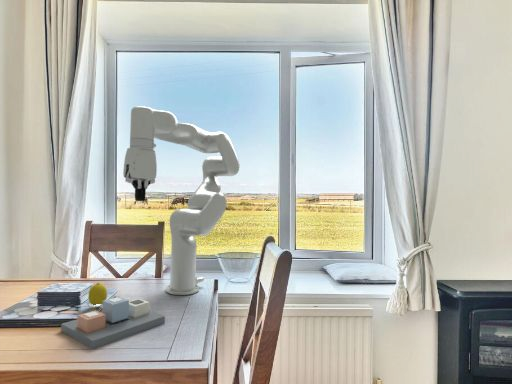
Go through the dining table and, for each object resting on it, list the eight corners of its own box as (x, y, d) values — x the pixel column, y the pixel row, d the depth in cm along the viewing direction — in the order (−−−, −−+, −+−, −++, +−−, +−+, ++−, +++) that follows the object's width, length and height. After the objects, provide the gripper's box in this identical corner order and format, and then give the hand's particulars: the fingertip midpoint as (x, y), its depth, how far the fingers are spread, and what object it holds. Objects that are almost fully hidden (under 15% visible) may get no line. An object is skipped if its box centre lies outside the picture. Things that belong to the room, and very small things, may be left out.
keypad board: (132, 309, 113) (132, 303, 113) (164, 322, 103) (164, 316, 103) (61, 331, 95) (61, 323, 95) (92, 348, 86) (92, 340, 86)
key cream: (138, 314, 108) (139, 297, 108) (148, 318, 105) (149, 301, 105) (124, 319, 104) (124, 301, 104) (134, 323, 101) (134, 305, 101)
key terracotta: (95, 328, 97) (95, 309, 97) (105, 333, 94) (105, 313, 94) (77, 333, 93) (77, 314, 93) (86, 339, 90) (87, 319, 90)
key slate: (118, 313, 103) (118, 295, 103) (128, 317, 100) (128, 299, 100) (102, 318, 99) (102, 299, 99) (112, 322, 96) (112, 303, 96)
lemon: (99, 311, 111) (100, 286, 111) (84, 309, 112) (85, 284, 112) (110, 305, 116) (111, 281, 116) (95, 303, 117) (96, 280, 117)
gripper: (153, 148, 124) (151, 200, 124) (114, 142, 112) (112, 200, 112) (167, 147, 120) (165, 201, 120) (128, 141, 107) (126, 201, 108)
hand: (140, 200), depth 116 cm, fingers closed
